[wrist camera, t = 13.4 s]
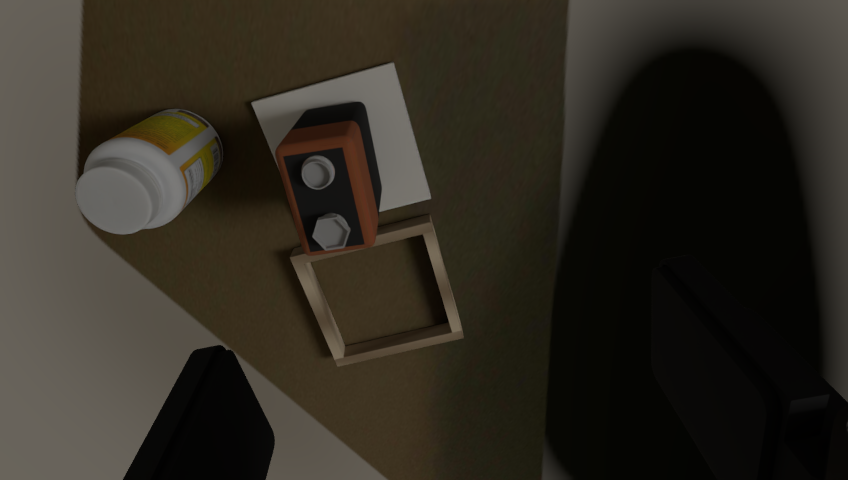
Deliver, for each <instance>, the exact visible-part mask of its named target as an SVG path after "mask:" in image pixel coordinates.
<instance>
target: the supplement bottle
mask: <svg viewBox="0 0 848 480" xmlns="http://www.w3.org/2000/svg"><path fill="white" fill-rule="evenodd" d="M222 161H223V147H222V143H221V140H220V138H219V136H218V134H217V132H216V131H215V130H214V128H213V127H212V126H211V125H210V124H209V123H208V122H207V121H206V120H205V119H203V118H202V117H200V116H199V115H197V114H195V113H192V112H190V111H187V110H182V109H168V110H164V111H161V112H158V113H156V114H154V115H152V116H151V117H149V118H147V119H145V120H144V121H142V122H140V123H138V124H136V125H134V126H133V127H131V128H129V129H127V130H125V131H124V132H122V133H120V134H118V135H116V136H115V137H113V138H111V139H109V140H107V141H105V142H104V143H102V144H101V145H99V146H98V147H96V148H95V149H94V150H93V151H92V152H91V154H90V155H89V157H88V158H87V161H86V163H85V167H84V174H83V175H82V176H81V177H80V178H79V180H78V182H77V184H76V188H75V197H76V201H77V204H78V207H79V208H80V210H81V212H82V213H83V215H84V216H85V217H86V218H87V219H88V220H89V221H90V222H91V223H92V224H94V225H95V226H97V227H98V228H100V229H102V230H104V231H107V232H110V233H114V234H131V233H134V232H137V231H139V230H141V229H150V228H156V227H160V226H162V225H165V224H167V223H168V222H170V221H171V220H173V219H174V218H175V217H176V216H177V215H178V214H179V213H180V212H181V211H182V210H183V209H184V208H185V207H186V206H187V205H188V204H189V203H190V202H191V200H192V199H193V198H194V197H195V196H196V195H197V194H198V193H199V192H200V191H201V190H202V189H203V188H204V187H205V186H206V185H207V184H208V183H209V182H210V180H211V179H212V178H213V177H214V176H215V175H216V174H217V172H218V171H219V169H220V167H221V164H222Z"/></svg>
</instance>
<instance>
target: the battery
mask: <svg viewBox="0 0 848 480" xmlns="http://www.w3.org/2000/svg"><path fill="white" fill-rule="evenodd" d="M275 156H276V160H277V164H278V167H279V171H280V174H281V177H282V181H283V184H284V188H285V191H286V194H287V198H288V201H289V205H290V208H291V212H292V215H293V218H294V222H295V225H296V229H297V232H298V235H299V239H300V242H301V245H302V248H303V251H304V253H305V254H306V255H308V256H314V255H321V254H328V253H335V252H342V251H349V250H355V249H362V248H368V247H372V246H373V245H374V243H375V241H376V233H377V225H378V217H379V209H380V201H381V193H382V185H381V180H380V175H379V170H378V165H377V160H376V155H375V150H374V145H373V140H372V135H371V130H370V125H369V120H368V115H367V111H366V107H365V105H364V104H363V103H362V102H351V103H345V104H339V105H333V106H326V107H320V108H314V109H308V110H306V111H305V112H304V113H303V114H302V116H301V117H300V118H299V119H298V121H297V122H296V123H295V125H294V126H293V127H292V128H291V130H290V131H289V132H288V134H287V135H286V136H285V137H284V139H283V140H282V141H281V143H280V144H279V145H278V147H277V148H276V150H275Z"/></svg>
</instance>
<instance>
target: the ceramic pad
mask: <svg viewBox="0 0 848 480" xmlns="http://www.w3.org/2000/svg"><path fill="white" fill-rule="evenodd" d="M351 102H362V103H363V104H364V105H365V107H366V111H367V115H368V120H369V125H370V130H371V135H372V140H373V145H374V150H375V155H376V160H377V165H378V170H379V175H380V180H381V185H382V193H381V201H380V209H379V212H381V211H384V210H388V209H392V208H396V207H400V206H404V205H408V204H412V203H416V202H420V201H424V200H428V199H431V194H430V191H429V187H428V184H427V180H426V176H425V173H424V169H423V166H422V162H421V158H420V155H419V151H418V148H417V144H416V140H415V137H414V133H413V130H412V126H411V122H410V119H409V115H408V112H407V108H406V104H405V101H404V97H403V94H402V90H401V86H400V83H399V79H398V76H397V72H396V68H395V65H394V61H393V62H390V63H386V64H382V65H379V66H375V67H372V68H368V69H365V70H361V71H358V72H354V73H351V74H347V75H344V76H340V77H336V78H333V79H329V80H326V81H322V82H319V83H315V84H312V85H308V86H305V87H301V88H298V89H294V90H290V91H287V92H283V93H280V94H276V95H273V96H269V97H266V98H262V99H259V100H255V101H253V102H252V103H251V104H252V106H253V108H254V111H255V113H256V116H257V118H258V121H259V123H260V125H261V128H262V130H263V133H264V135H265V137H266V140H267V142H268V145H269V147H270V150H271V152H272V154H273V157H274V159H275V162H276V164H277V160H276V156H275V150H276V148H277V147H278V145H279V144H280V143H281V141H282V140H283V139H284V137H285V136H286V135H287V134H288V132H289V131H290V130H291V128H292V127H293V126H294V125H295V123H296V122H297V121H298V119H299V118H300V117H301V116H302V114H303V113H304V112H305V111H306V110H308V109H314V108H320V107H326V106H333V105H339V104H345V103H351ZM277 166H278V164H277ZM278 169H279V167H278Z"/></svg>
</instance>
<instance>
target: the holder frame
mask: <svg viewBox="0 0 848 480" xmlns="http://www.w3.org/2000/svg"><path fill="white" fill-rule="evenodd" d="M421 234H423V236H424V239H425V243H426V246H427V249H428V253H429V256H430V260H431V263H432V266H433V270H434V273H435V276H436V280H437V283H438V287H439V290H440V293H441V297H442V300H443V303H444V307H445V310H446V313H447V317H448V320H449V322H448V323H444V324H440V325H435V326H431V327H427V328H422V329H418V330H414V331H410V332H405V333H401V334H397V335H392V336H388V337H384V338H379V339H375V340H371V341H366V342H362V343H358V344H353V345H349V346H345V344H344V342H343V339H342V337H341V335H340V332H339V330H338V327H337V325H336V323H335V320H334V318H333V316H332V313H331V311H330V308H329V306H328V304H327V301H326V299H325V297H324V294H323V292H322V289H321V287H320V285H319V282H318V280H317V278H316V275H315V273H314V270H313V268H312V266H311V263H310V262H313V261H317V260H321V259H325V258H329V257H333V256H337V255H341V254H345V253H349V252H353V251H357V250H361V249H355V250H349V251H342V252H335V253H328V254H321V255H314V256H308V255H306V254H305V253H304V251H303V248H302V246H301V247H297V248H294V249H293V251H292V253H291V256H290V259H291V262H292V264H293V266H294V269H295V271H296V273H297V275H298V278H299V280H300V282H301V284H302V287H303V289H304V291H305V294H306V296H307V298H308V300H309V303H310V305H311V307H312V309H313V312H314V314H315V316H316V319H317V321H318V323H319V325H320V328H321V330H322V332H323V334H324V337H325V339H326V341H327V344H328V346H329V348H330V350H331V353H332V355H333V357H334V359H335V362H336V364H337V366H343V365H347V364H352V363H356V362H360V361H365V360H369V359H374V358H378V357H382V356H387V355H391V354H395V353H400V352H404V351H409V350H413V349H417V348H422V347H426V346H431V345H435V344H439V343H444V342H448V341H453V340H457V339H461V338H464V337H463V330H462V325H461V322H460V318H459V315H458V311H457V308H456V304H455V301H454V297H453V294H452V290H451V287H450V283H449V280H448V276H447V273H446V269H445V266H444V262H443V258H442V255H441V251H440V248H439V244H438V241H437V237H436V234H435V230H434V227H433V223H432V220H431V216H430V214H428V215H424V216H420V217H416V218H412V219H408V220H404V221H400V222H396V223H392V224H388V225H384V226H380V227H377V233H376V241H375V243H374V245H373V246H377V245H381V244H385V243H389V242H393V241H397V240H401V239H405V238H409V237H413V236H417V235H421ZM373 246H372V247H373ZM368 248H369V247H368ZM362 249H365V248H362Z"/></svg>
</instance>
